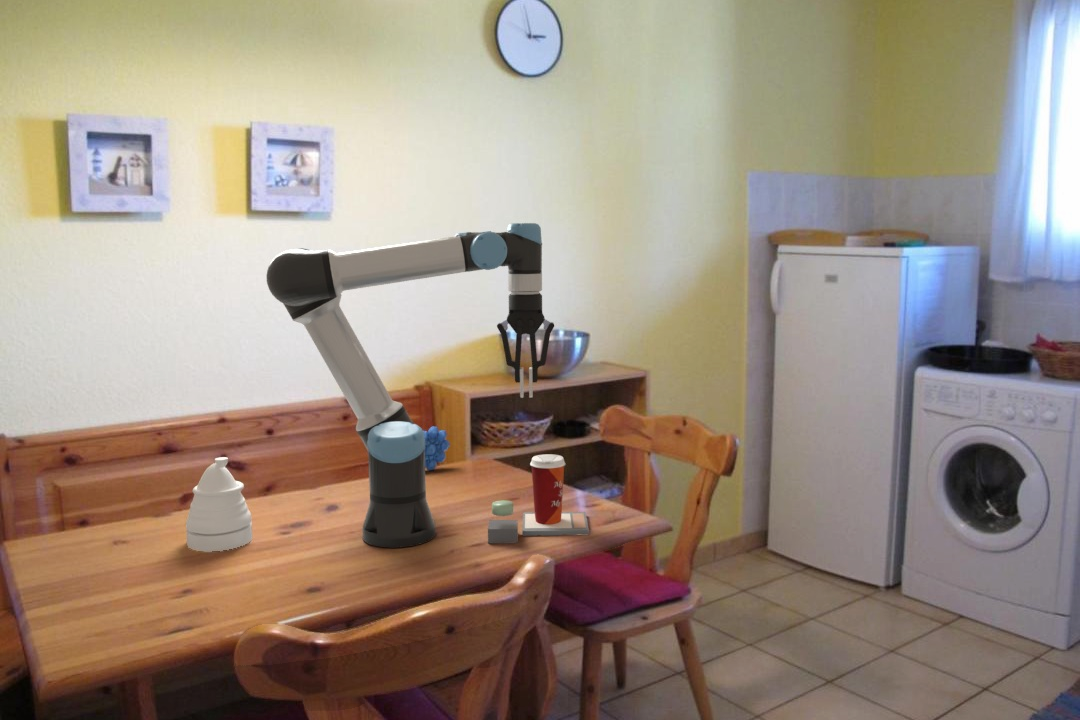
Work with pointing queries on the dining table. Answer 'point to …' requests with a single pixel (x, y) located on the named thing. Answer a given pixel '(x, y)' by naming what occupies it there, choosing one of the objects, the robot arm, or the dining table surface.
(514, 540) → the button housing
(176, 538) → the dining table surface
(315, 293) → the robot arm
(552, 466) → the paper cup
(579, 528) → the picture board
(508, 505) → the button
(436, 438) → the grapes
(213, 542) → the honey pot
